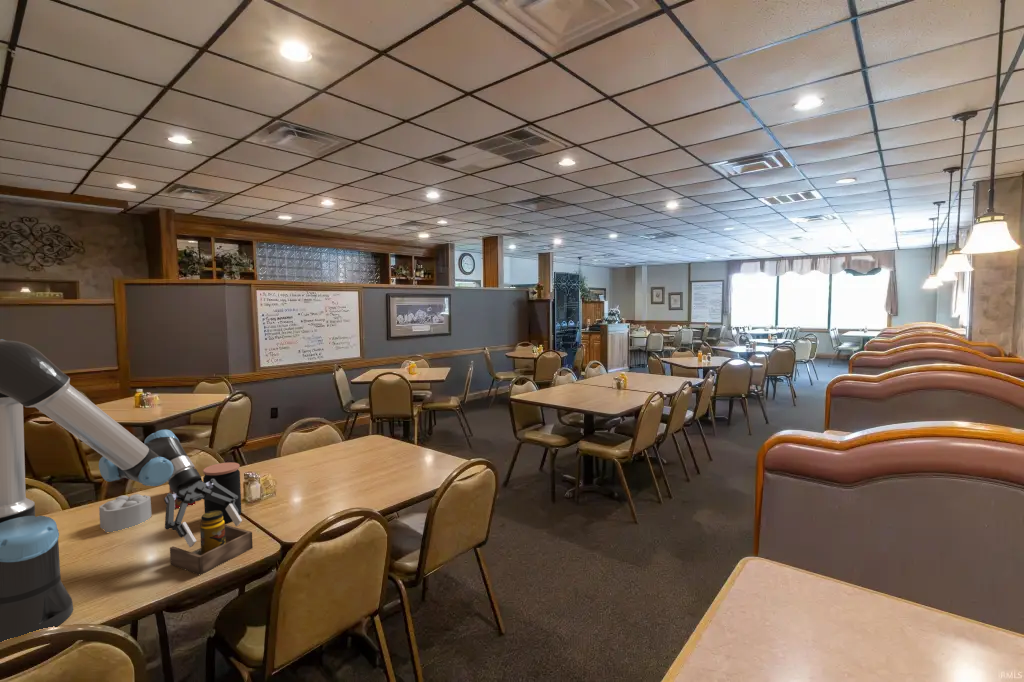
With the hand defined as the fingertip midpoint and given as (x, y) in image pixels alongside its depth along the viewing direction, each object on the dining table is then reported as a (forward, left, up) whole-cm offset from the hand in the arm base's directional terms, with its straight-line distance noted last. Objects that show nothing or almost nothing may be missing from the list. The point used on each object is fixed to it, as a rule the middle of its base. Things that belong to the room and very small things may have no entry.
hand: (217, 533), depth 134 cm
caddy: (-1, +2, -7) cm, 7 cm away
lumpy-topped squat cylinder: (-24, +43, -7) cm, 50 cm away
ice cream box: (-9, +58, -7) cm, 59 cm away
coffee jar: (+3, +29, -7) cm, 30 cm away
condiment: (-2, +2, -7) cm, 7 cm away
